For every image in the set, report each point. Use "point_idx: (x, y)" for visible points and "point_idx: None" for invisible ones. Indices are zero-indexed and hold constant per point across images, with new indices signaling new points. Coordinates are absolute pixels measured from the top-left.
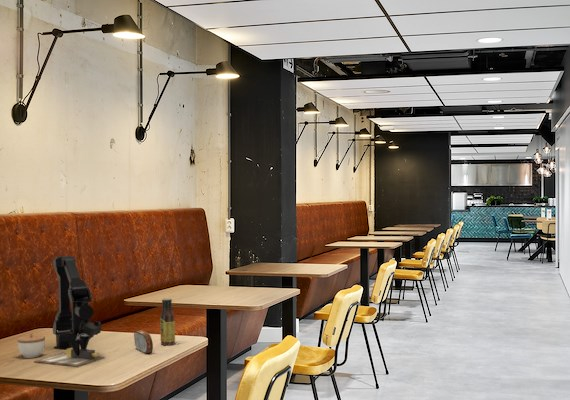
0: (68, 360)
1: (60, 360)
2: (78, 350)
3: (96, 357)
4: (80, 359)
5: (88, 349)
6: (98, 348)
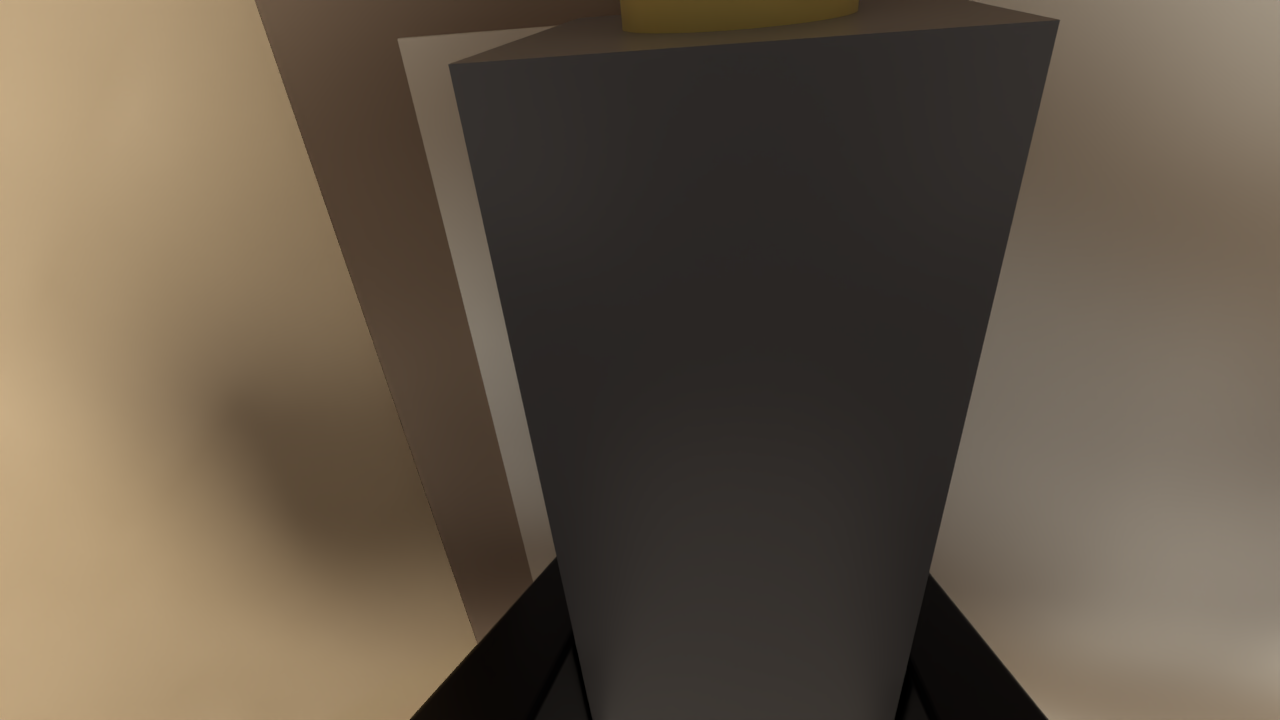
0: (1191, 574)
1: (1192, 713)
2: (1018, 707)
3: (500, 22)
4: (1004, 348)
5: (550, 495)
6: (3, 619)
